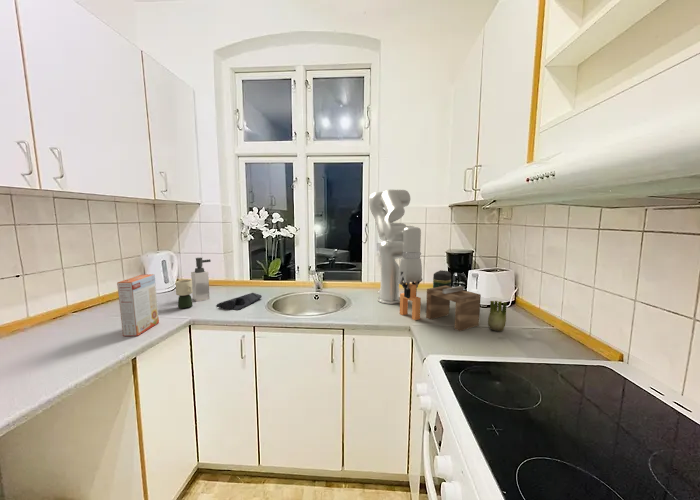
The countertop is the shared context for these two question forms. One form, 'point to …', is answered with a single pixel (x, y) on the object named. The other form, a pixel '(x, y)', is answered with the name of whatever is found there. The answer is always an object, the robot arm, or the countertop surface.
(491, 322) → the fennel bulb
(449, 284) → the coffee jar
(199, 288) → the soap dispenser
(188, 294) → the character mug
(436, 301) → the small wooden table
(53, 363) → the countertop surface
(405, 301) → the orange stepped arch block
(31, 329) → the countertop surface
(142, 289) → the cracker box
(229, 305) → the dark slate chunk
